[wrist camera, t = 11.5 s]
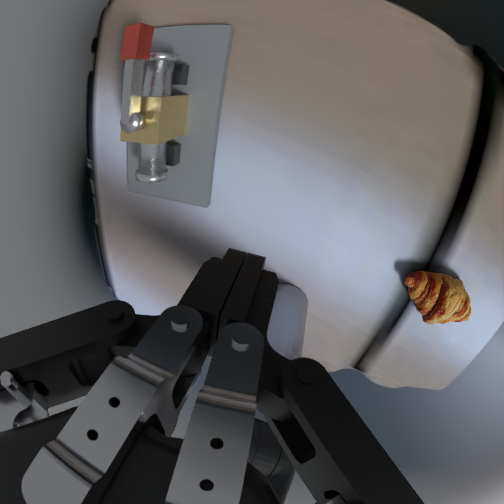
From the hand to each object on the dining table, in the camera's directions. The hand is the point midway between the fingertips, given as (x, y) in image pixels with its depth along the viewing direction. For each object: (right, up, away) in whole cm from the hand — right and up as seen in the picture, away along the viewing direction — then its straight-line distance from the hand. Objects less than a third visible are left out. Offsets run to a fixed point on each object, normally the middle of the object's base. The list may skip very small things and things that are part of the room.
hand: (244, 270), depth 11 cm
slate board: (-11, +22, +24) cm, 34 cm away
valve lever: (-13, +21, +14) cm, 28 cm away
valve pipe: (-12, +21, +23) cm, 33 cm away
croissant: (+35, -7, +31) cm, 47 cm away
